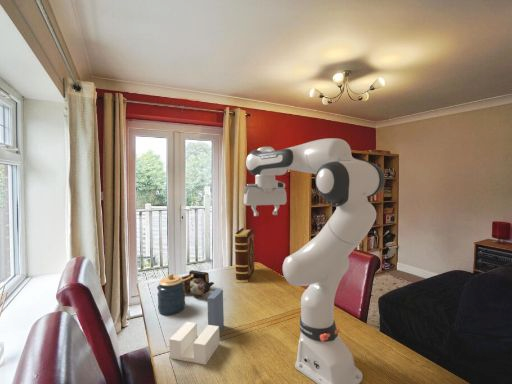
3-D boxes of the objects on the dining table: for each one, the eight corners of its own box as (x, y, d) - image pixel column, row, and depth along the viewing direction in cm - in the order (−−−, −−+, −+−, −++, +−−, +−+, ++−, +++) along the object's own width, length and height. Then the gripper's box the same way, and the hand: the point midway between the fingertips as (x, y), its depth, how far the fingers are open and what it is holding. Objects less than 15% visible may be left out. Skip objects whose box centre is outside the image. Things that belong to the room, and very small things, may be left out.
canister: (157, 305, 137) (156, 271, 136) (184, 301, 142) (182, 268, 141) (158, 317, 125) (156, 280, 124) (186, 312, 130) (185, 276, 129)
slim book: (223, 325, 117) (222, 289, 116) (215, 337, 109) (214, 298, 108) (217, 324, 118) (216, 288, 117) (208, 336, 109) (207, 297, 109)
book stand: (219, 343, 104) (219, 326, 104) (205, 364, 93) (205, 344, 92) (187, 338, 108) (186, 321, 108) (170, 358, 97) (169, 339, 96)
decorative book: (247, 283, 164) (246, 234, 162) (234, 282, 165) (233, 234, 164) (254, 270, 186) (253, 227, 184) (243, 270, 187) (242, 227, 186)
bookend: (191, 269, 164) (222, 272, 150) (193, 287, 164) (224, 292, 150) (172, 276, 152) (204, 280, 138) (173, 296, 152) (205, 301, 138)
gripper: (247, 183, 111) (247, 217, 111) (288, 184, 121) (288, 214, 121) (240, 184, 117) (241, 216, 117) (280, 184, 126) (281, 214, 126)
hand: (265, 215), depth 119 cm, fingers open, 8 cm apart
